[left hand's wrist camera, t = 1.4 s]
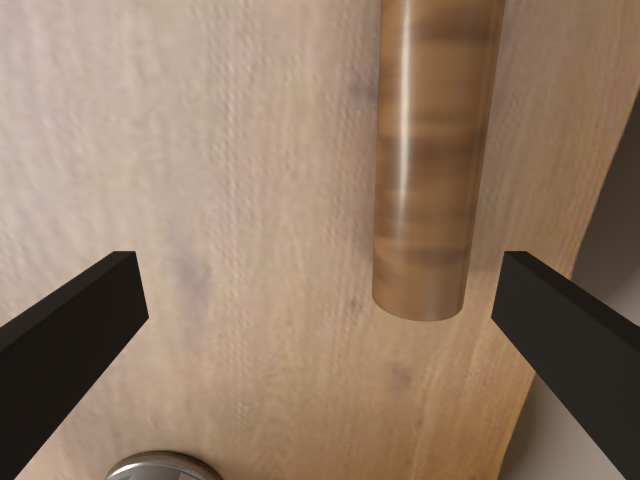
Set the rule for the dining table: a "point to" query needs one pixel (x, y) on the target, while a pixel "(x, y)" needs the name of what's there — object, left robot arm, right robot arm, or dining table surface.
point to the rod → (430, 149)
